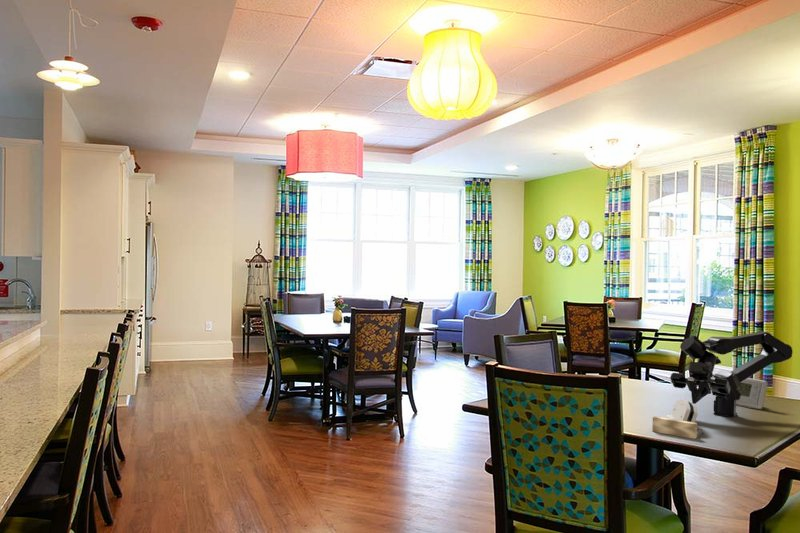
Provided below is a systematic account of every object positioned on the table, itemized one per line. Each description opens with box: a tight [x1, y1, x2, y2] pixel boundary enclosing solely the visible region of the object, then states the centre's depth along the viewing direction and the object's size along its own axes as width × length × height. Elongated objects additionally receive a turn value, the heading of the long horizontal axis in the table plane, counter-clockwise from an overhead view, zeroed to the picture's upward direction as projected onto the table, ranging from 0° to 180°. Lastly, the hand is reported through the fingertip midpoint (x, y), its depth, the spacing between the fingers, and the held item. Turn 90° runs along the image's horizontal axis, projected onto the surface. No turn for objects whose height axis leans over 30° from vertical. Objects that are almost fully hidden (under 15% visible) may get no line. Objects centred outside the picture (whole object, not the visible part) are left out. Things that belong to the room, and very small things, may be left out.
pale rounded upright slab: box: [664, 398, 699, 423], centre depth 220 cm, size 17×5×10 cm, turn 169°
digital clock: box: [736, 377, 769, 410], centre depth 255 cm, size 16×9×11 cm, turn 22°
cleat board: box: [651, 415, 703, 440], centre depth 213 cm, size 13×8×4 cm, turn 51°
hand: (693, 403), depth 227 cm, fingers closed
